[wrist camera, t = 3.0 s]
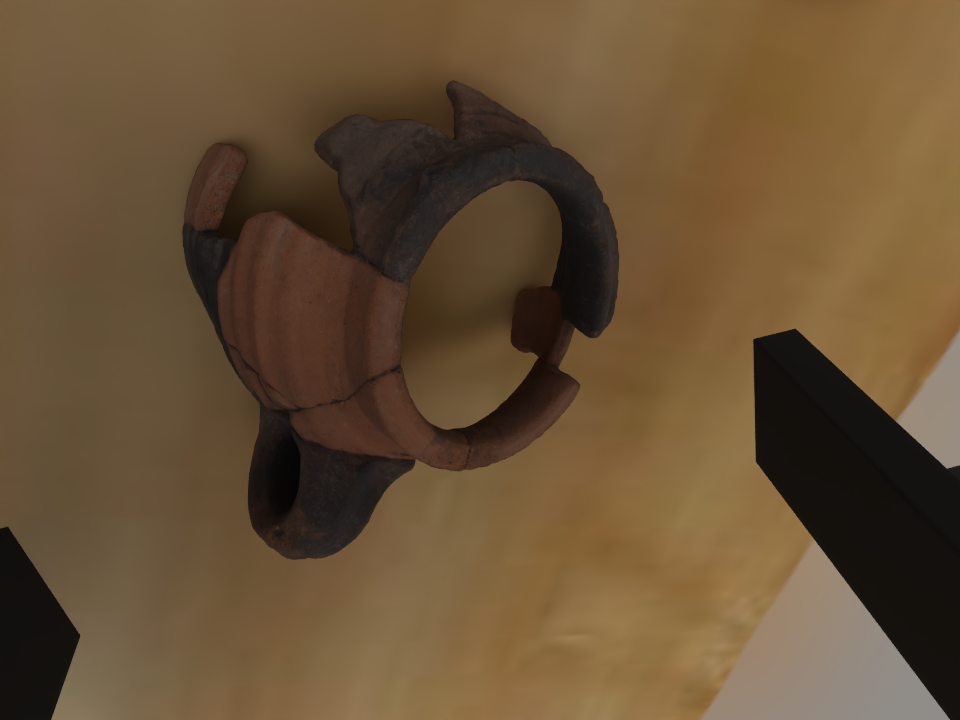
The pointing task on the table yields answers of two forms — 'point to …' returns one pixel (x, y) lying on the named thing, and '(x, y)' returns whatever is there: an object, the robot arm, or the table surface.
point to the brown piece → (383, 312)
